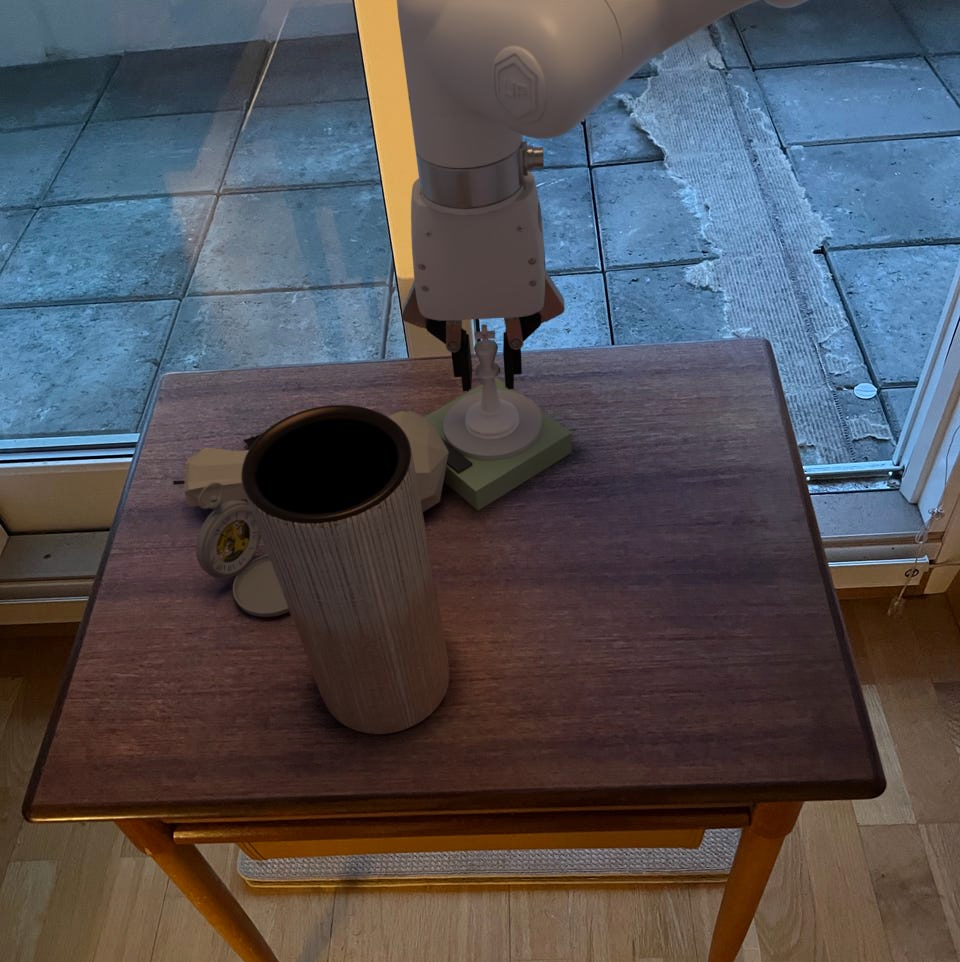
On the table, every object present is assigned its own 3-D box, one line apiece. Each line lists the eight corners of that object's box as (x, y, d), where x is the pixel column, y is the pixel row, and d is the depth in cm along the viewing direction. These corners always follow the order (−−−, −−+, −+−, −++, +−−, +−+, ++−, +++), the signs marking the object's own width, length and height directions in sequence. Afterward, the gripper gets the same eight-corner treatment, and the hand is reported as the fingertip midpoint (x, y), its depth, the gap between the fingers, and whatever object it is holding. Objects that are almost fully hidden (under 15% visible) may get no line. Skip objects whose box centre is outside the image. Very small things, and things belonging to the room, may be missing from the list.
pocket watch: (309, 619, 77) (278, 534, 69) (208, 623, 78) (166, 539, 70) (320, 545, 82) (293, 458, 74) (225, 549, 83) (188, 463, 75)
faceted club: (452, 529, 81) (172, 548, 83) (459, 482, 87) (200, 501, 90) (438, 434, 75) (139, 457, 78) (447, 391, 82) (172, 414, 85)
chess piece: (466, 405, 87) (455, 309, 79) (519, 402, 87) (514, 307, 79) (463, 441, 84) (452, 346, 76) (519, 439, 84) (513, 343, 76)
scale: (496, 396, 92) (494, 371, 90) (572, 452, 87) (572, 427, 84) (405, 449, 89) (400, 424, 86) (477, 511, 83) (475, 486, 81)
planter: (316, 740, 70) (228, 527, 52) (326, 633, 76) (250, 408, 58) (451, 732, 70) (409, 514, 52) (450, 625, 76) (412, 396, 58)
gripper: (584, 136, 69) (582, 349, 84) (362, 150, 70) (398, 357, 85) (588, 189, 64) (585, 404, 79) (351, 203, 66) (391, 412, 80)
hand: (488, 378), depth 82 cm, fingers open, 3 cm apart
